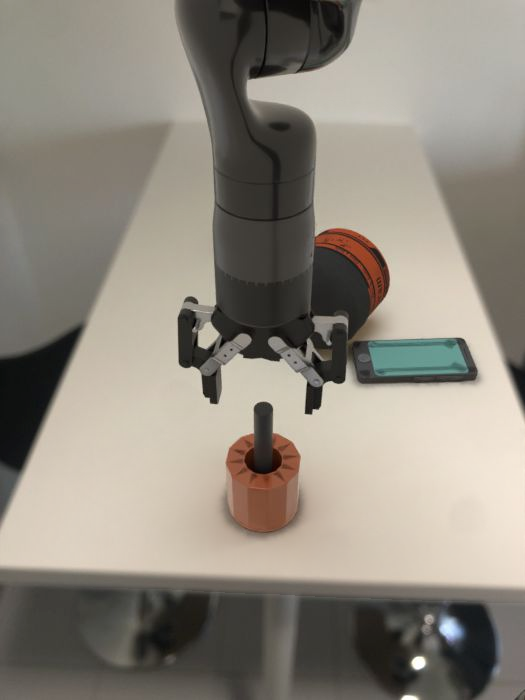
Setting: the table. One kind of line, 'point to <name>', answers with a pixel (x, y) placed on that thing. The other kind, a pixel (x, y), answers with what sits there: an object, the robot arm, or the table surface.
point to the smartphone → (413, 360)
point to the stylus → (263, 438)
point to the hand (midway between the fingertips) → (262, 402)
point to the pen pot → (263, 485)
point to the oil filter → (347, 279)
